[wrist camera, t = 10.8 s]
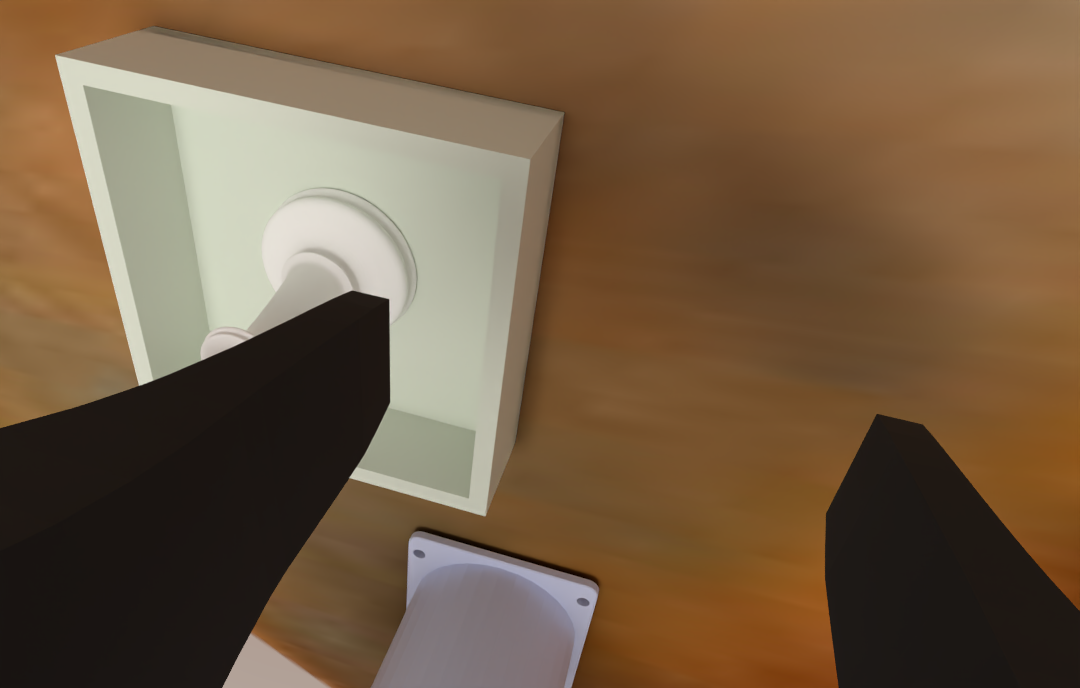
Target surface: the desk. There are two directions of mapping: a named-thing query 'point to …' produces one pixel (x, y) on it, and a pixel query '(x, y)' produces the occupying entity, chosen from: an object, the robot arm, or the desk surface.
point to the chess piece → (326, 261)
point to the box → (336, 163)
